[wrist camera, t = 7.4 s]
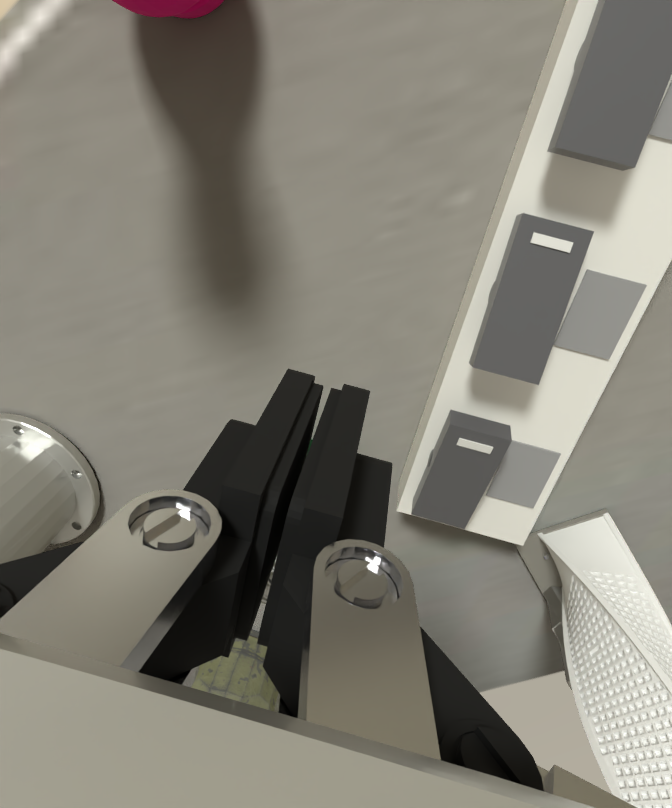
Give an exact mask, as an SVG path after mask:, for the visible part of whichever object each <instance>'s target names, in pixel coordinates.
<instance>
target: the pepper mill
mask: <svg viewBox="0 0 672 808" xmlns="http://www.w3.org/2000/svg"><path fill="white" fill-rule="evenodd" d="M113 1H114V2H116V3H117V4H119V5H121V6H123V7H124V8H126V9H128V10H130V11H132V12H135V13H137V14H141V15H144V16H150V17H168V16H175V17H179V18H188V19H189V18H197V17H201V16H204V15H206V14H209V13H210V12H212V11H213V10H214V9H216V8H217V7H218V6H220V4H221V3H222V2H223V1H224V0H113Z"/></svg>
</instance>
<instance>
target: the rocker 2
mask: <svg viewBox="0 0 672 808" xmlns="http://www.w3.org/2000/svg"><path fill="white" fill-rule="evenodd" d="M671 75H672V0H598V3H597V6H596V9H595V12H594V14H593V17H592V20H591V23H590V26H589V29H588V32H587V35H586V38H585V41H584V42H583V44H582V46H581V48H580V50H579V52H578V55H577V58H576V61H575V64H574V73H573V76H572V79H571V82H570V85H569V88H568V91H567V94H566V97H565V100H564V103H563V106H562V109H561V112H560V114H559V117H558V120H557V123H556V126H555V129H554V132H553V135H552V138H551V141H550V144H549V147H548V150H547V152H551V153H555V154H559V155H563V156H567V157H571V158H575V159H578V160H582V161H586V162H590V163H594V164H598V165H602V166H606V167H610V168H614V169H617V170H621V171H624V170H628V169H632V168H635V167H636V164H637V162H638V159H639V156H640V154H641V151H642V149H643V146H644V144H645V141H646V139H647V136H648V133H649V131H650V128H651V126H652V123H653V121H654V118H655V116H656V113H657V110H658V108H659V105H660V103H661V100H662V98H663V95H664V92H665V90H666V87H667V85H668V82H669V80H670V77H671Z"/></svg>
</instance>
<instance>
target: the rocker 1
mask: <svg viewBox="0 0 672 808" xmlns="http://www.w3.org/2000/svg"><path fill="white" fill-rule="evenodd" d="M511 442H512V437H511V428H510V425H506V424H502V423H499V422H495V421H491V420H488V419H484V418H480V417H476V416H473V415H469V414H465V413H462V412H458V411H454V410H451V409H450V412H449V414H448V417H447V419H446V421H445V424H444V426H443V428H442V431H441V433H440V435H439V438H438V440H437V443H436V445H435V447H434V449H432V450H431V453H430V455H429V459H428V464H427V466H426V469H425V471H424V473H423V476H422V478H421V481H420V483H419V485H418V488H417V490H416V492H415V495H414V497H413V501H412V511H411V515H415V516H418V517H422V518H426V519H429V520H433V521H436V522H440V523H444V524H447V525H451V526H455V527H458V528H462V529H465V527H466V526H467V524H468V522H469V520H470V518H471V516H472V514H473V512H474V511H475V509H476V507H477V505H478V503H479V501H480V499H481V498H482V496H483V494H484V492H485V490H486V488H487V486H488V485H489V483H490V481H491V479H492V477H493V475H494V473H495V472H496V470H497V468H498V466H499V464H500V462H501V460H502V459H503V457H504V455H505V453H506V451H507V449H508V447H509V446H510V444H511Z"/></svg>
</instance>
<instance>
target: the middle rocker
mask: <svg viewBox="0 0 672 808" xmlns="http://www.w3.org/2000/svg"><path fill="white" fill-rule="evenodd" d="M593 233H594V231H591V230H587V229H583V228H579V227H575V226H571V225H568V224H564V223H560V222H556V221H552V220H548V219H544V218H541V217H537V216H533V215H529V214H525V213H521V214H519V215H516V218H515V222H514V225H513V228H512V231H511V234H510V237H509V240H508V243H507V246H506V249H505V252H504V256H503V259H502V262H501V265H500V268H499V271H498V274H497V277H496V280H495V282H494V283H493V285H492V288H491V290H490V293H489V298H488V305H487V308H486V311H485V314H484V317H483V320H482V324H481V327H480V330H479V333H478V336H477V339H476V342H475V345H474V348H473V351H472V355H471V358H470V361H469V364H470V365H471V366H472V367H473V368H477V369H481V370H484V371H488V372H492V373H495V374H499V375H503V376H507V377H510V378H514V379H518V380H522V381H525V382H529V383H533V384H536V385H539V383H540V380H541V377H542V375H543V372H544V369H545V366H546V364H547V361H548V358H549V355H550V352H551V350H552V347H553V344H554V341H555V339H556V336H557V333H558V330H559V328H560V325H561V322H562V319H563V316H564V314H565V311H566V308H567V305H568V303H569V300H570V297H571V294H572V291H573V289H574V286H575V283H576V280H577V278H578V275H579V272H580V269H581V267H582V264H583V261H584V258H585V255H586V253H587V250H588V247H589V244H590V242H591V239H592V236H593Z"/></svg>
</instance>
